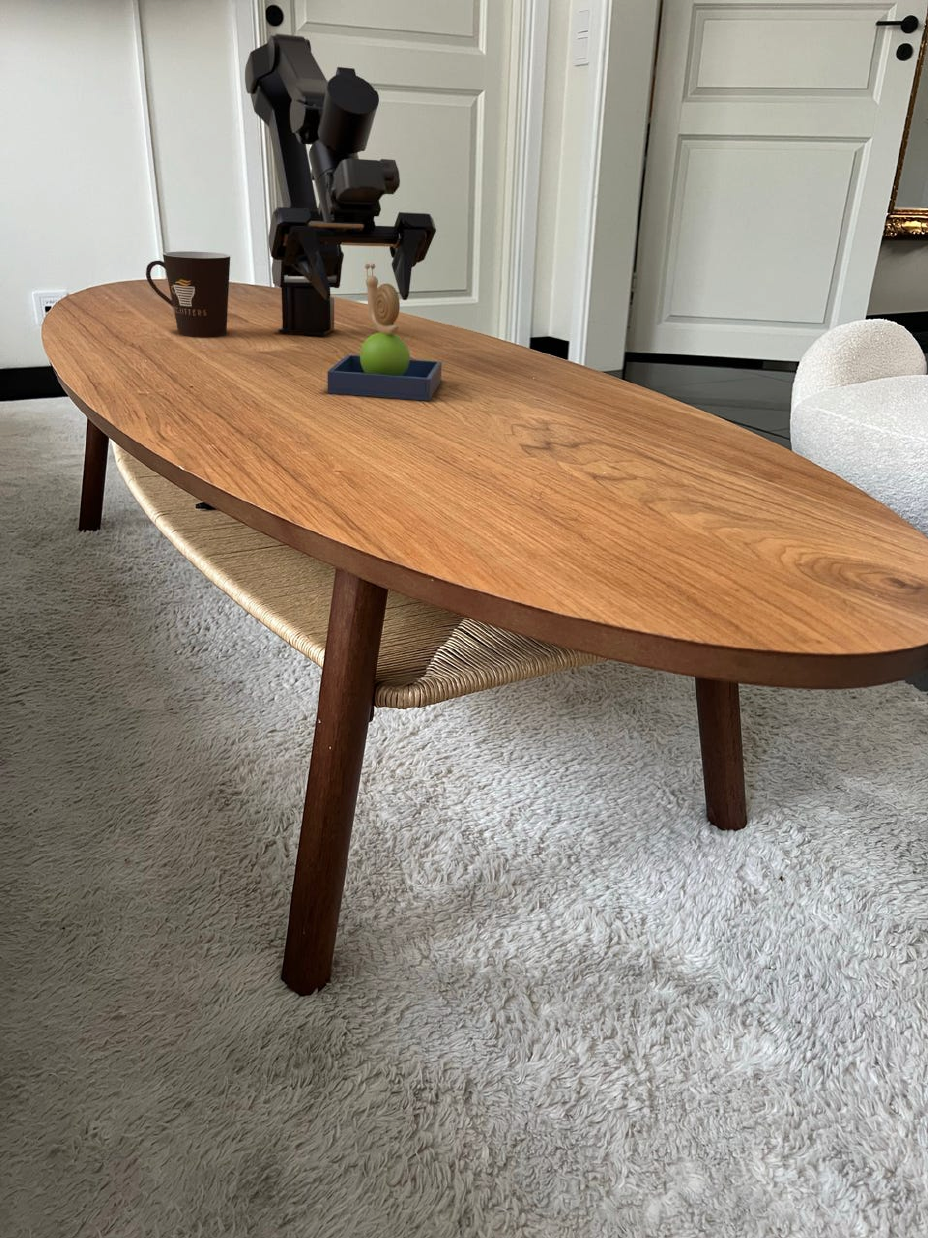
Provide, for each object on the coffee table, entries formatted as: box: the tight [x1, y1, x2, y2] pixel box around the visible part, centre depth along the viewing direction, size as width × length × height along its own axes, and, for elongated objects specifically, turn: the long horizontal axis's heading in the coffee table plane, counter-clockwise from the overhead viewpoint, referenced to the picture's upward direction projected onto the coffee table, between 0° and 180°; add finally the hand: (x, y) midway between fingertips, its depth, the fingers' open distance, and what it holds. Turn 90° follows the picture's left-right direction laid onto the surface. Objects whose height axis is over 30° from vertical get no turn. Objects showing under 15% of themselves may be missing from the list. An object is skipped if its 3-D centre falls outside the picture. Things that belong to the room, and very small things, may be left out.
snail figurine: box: [359, 263, 411, 376], centre depth 98 cm, size 5×6×12 cm
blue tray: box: [326, 353, 443, 402], centre depth 100 cm, size 11×10×2 cm
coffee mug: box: [145, 250, 231, 338], centre depth 122 cm, size 12×9×10 cm
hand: (367, 297), depth 102 cm, fingers open, 9 cm apart
